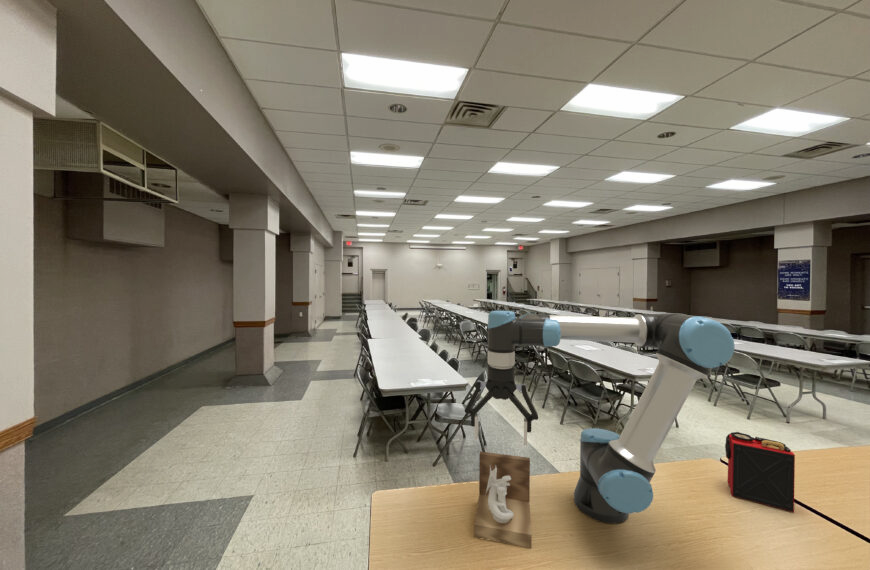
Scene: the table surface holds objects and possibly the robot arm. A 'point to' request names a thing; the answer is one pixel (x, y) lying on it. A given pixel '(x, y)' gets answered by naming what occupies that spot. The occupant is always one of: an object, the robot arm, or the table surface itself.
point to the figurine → (498, 488)
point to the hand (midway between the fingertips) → (500, 440)
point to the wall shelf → (515, 499)
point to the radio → (760, 470)
